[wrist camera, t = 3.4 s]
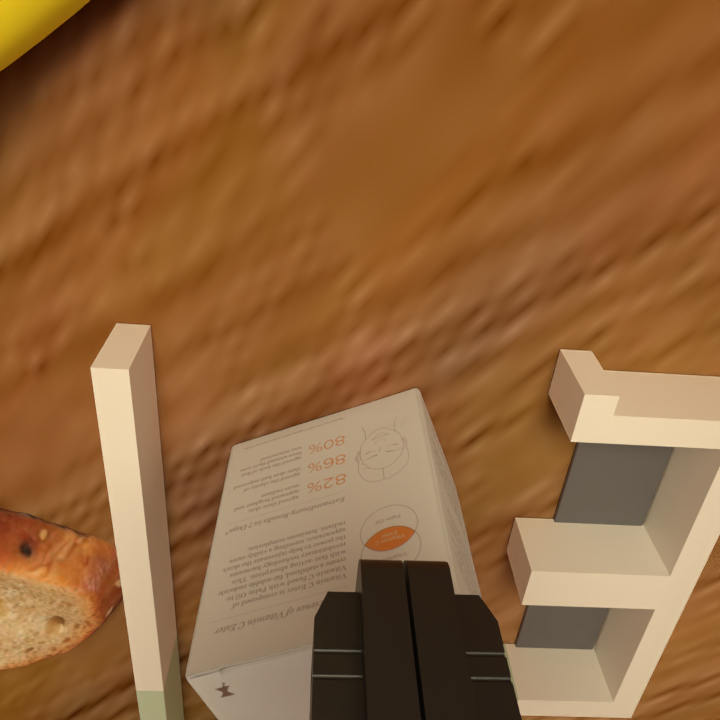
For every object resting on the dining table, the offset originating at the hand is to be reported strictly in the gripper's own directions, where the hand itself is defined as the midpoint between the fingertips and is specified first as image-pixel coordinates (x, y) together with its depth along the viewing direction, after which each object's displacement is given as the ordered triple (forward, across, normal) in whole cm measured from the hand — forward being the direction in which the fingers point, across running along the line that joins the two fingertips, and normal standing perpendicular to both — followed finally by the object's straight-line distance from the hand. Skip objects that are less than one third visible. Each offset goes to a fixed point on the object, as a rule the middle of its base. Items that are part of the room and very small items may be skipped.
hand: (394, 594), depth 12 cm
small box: (+14, 0, +9) cm, 17 cm away
